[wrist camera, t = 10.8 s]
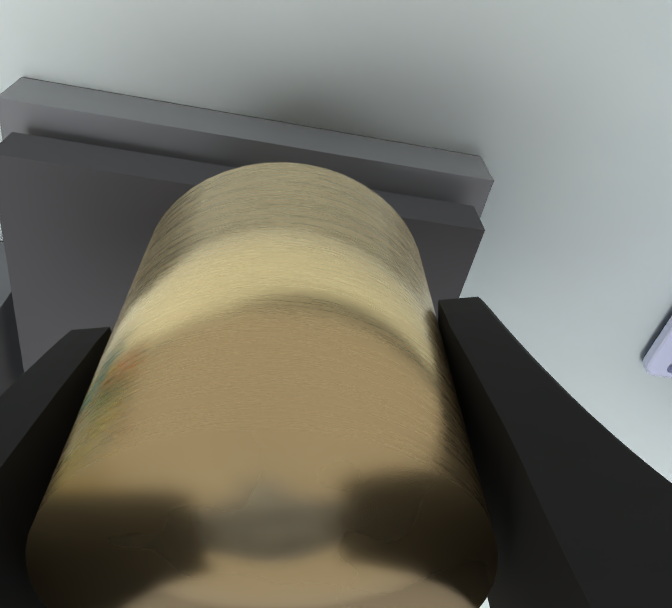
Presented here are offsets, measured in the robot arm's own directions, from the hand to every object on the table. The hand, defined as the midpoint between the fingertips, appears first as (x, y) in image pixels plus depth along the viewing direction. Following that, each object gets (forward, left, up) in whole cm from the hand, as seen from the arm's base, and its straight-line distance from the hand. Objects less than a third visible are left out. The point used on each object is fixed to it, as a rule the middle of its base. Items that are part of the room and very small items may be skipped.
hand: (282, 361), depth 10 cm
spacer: (0, 0, -2) cm, 2 cm away
